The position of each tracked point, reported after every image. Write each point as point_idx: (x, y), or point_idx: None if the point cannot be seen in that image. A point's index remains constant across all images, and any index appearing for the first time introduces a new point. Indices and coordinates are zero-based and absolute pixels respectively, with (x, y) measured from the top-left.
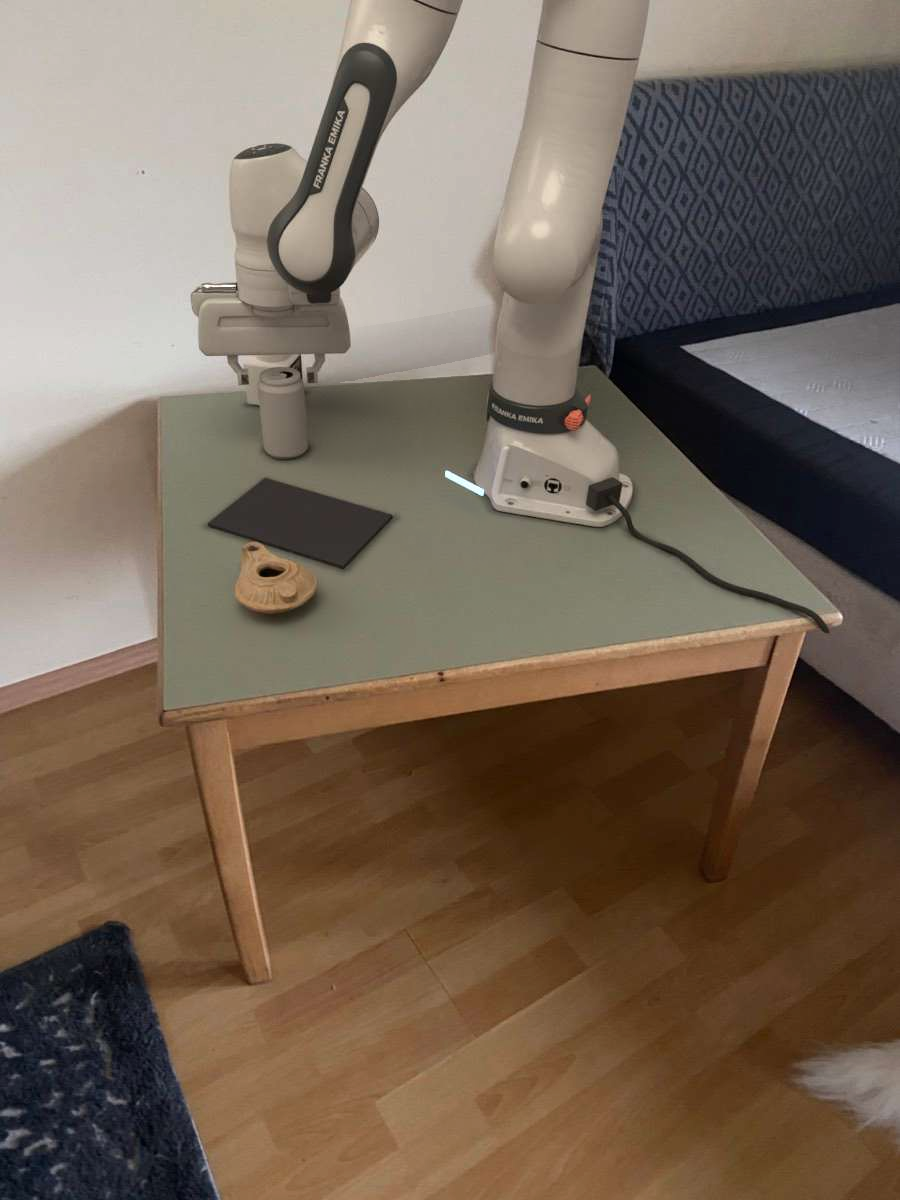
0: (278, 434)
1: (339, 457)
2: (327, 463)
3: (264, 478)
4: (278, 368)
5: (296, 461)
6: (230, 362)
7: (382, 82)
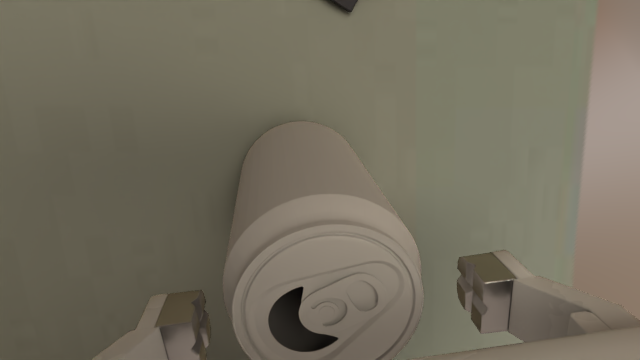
0: (321, 140)
1: (151, 143)
2: (181, 110)
3: (351, 6)
4: None
5: (269, 121)
6: (608, 307)
7: None
